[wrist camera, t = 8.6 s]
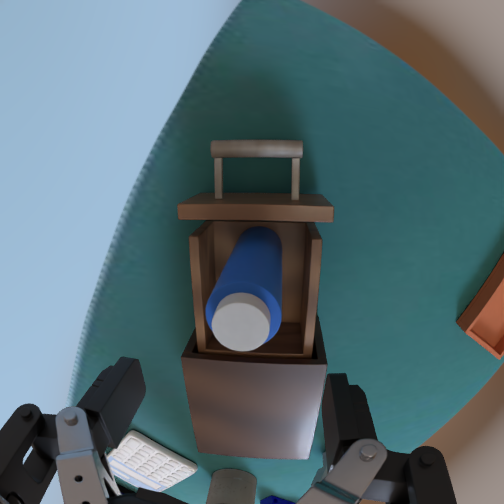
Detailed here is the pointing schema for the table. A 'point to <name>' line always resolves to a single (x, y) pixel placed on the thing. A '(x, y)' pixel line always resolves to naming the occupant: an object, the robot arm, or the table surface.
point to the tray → (487, 313)
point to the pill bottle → (248, 292)
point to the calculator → (148, 463)
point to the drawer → (270, 216)
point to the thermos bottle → (232, 487)
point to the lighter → (321, 471)
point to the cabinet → (254, 402)
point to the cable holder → (275, 501)
